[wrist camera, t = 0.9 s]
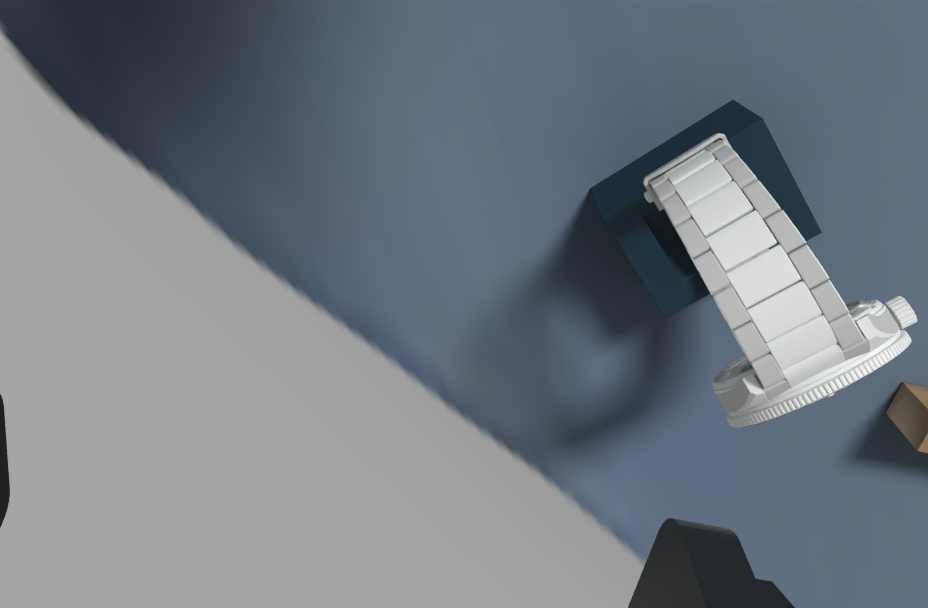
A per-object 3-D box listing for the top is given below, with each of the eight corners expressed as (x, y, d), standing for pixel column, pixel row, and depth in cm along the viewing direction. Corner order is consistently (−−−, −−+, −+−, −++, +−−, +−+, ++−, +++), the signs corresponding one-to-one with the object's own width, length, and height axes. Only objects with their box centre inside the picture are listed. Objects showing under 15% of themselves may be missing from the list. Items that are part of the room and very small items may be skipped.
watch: (673, 319, 28) (766, 516, 18) (564, 147, 26) (604, 270, 16) (812, 243, 27) (995, 415, 17) (711, 52, 24) (857, 122, 14)
